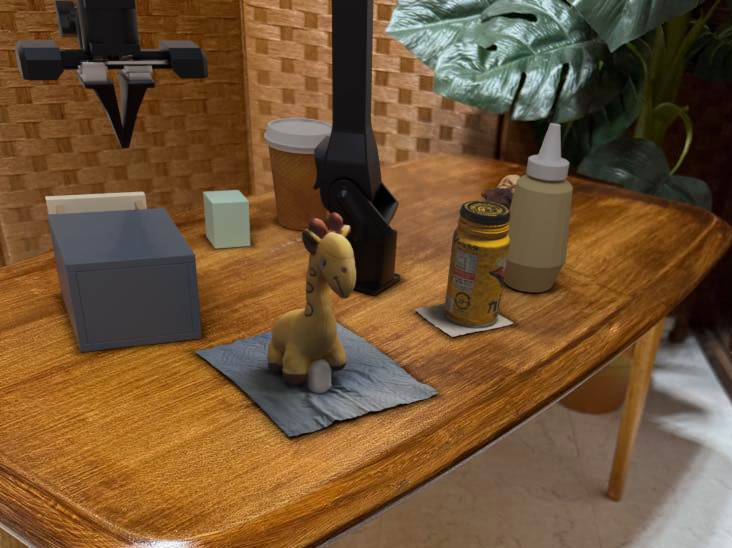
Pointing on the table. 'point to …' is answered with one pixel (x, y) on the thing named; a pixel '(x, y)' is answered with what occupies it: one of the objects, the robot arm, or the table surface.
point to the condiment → (475, 271)
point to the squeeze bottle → (540, 219)
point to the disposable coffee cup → (296, 169)
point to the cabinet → (126, 278)
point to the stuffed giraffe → (317, 351)
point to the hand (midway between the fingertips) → (124, 147)
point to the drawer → (95, 202)
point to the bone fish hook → (502, 191)
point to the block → (227, 218)
